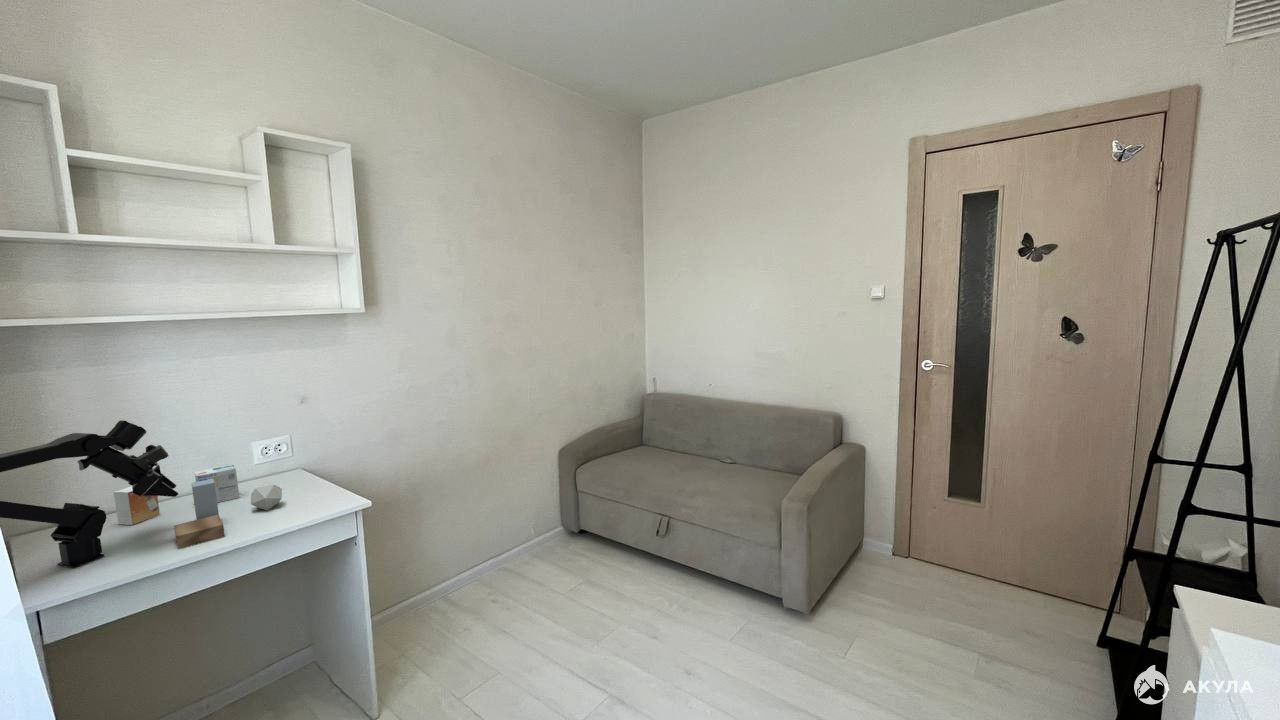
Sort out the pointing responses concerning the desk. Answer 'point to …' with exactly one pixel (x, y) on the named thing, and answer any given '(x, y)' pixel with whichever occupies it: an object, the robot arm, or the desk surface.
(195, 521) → the walnut base block
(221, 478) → the light bulb box
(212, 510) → the slate block
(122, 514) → the small box
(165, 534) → the desk surface
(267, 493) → the die
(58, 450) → the robot arm
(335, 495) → the desk surface
